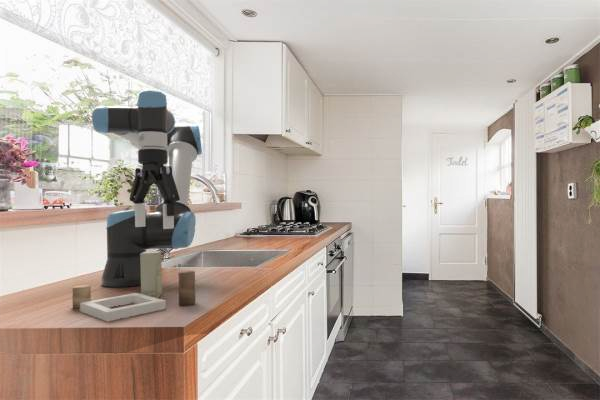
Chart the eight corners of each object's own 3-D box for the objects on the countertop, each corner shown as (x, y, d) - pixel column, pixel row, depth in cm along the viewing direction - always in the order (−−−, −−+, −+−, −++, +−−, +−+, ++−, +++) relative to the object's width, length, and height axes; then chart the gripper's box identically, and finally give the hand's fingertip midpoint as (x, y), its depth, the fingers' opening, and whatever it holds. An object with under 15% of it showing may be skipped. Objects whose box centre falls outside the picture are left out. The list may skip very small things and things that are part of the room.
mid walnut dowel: (175, 304, 108) (175, 272, 108) (189, 301, 111) (188, 270, 111) (184, 306, 105) (184, 273, 105) (198, 303, 108) (198, 271, 108)
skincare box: (157, 299, 114) (157, 252, 114) (140, 299, 114) (139, 253, 114) (162, 294, 121) (162, 250, 121) (146, 294, 120) (145, 250, 120)
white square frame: (80, 311, 102) (80, 302, 102) (136, 300, 113) (136, 292, 113) (107, 321, 93) (107, 312, 93) (165, 308, 104) (165, 300, 104)
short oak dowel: (69, 307, 106) (69, 287, 106) (86, 304, 109) (86, 284, 109) (76, 310, 104) (76, 289, 104) (93, 306, 107) (93, 286, 107)
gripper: (116, 151, 122) (117, 226, 123) (167, 144, 107) (168, 230, 107) (140, 153, 128) (141, 225, 128) (192, 146, 112) (193, 228, 113)
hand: (154, 227), depth 118 cm, fingers open, 13 cm apart
